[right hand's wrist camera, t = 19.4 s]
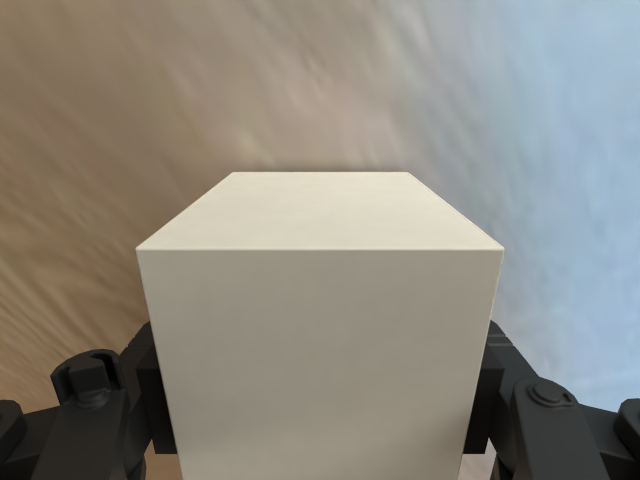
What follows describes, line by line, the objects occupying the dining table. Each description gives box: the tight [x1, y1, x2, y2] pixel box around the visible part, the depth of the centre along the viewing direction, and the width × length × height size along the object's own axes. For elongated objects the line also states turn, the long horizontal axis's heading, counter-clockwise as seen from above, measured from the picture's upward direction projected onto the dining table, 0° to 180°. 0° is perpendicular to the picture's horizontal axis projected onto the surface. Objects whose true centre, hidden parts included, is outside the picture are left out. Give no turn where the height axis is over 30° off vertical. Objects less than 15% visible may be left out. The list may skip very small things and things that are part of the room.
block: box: [135, 172, 505, 480], centre depth 12 cm, size 9×7×8 cm
